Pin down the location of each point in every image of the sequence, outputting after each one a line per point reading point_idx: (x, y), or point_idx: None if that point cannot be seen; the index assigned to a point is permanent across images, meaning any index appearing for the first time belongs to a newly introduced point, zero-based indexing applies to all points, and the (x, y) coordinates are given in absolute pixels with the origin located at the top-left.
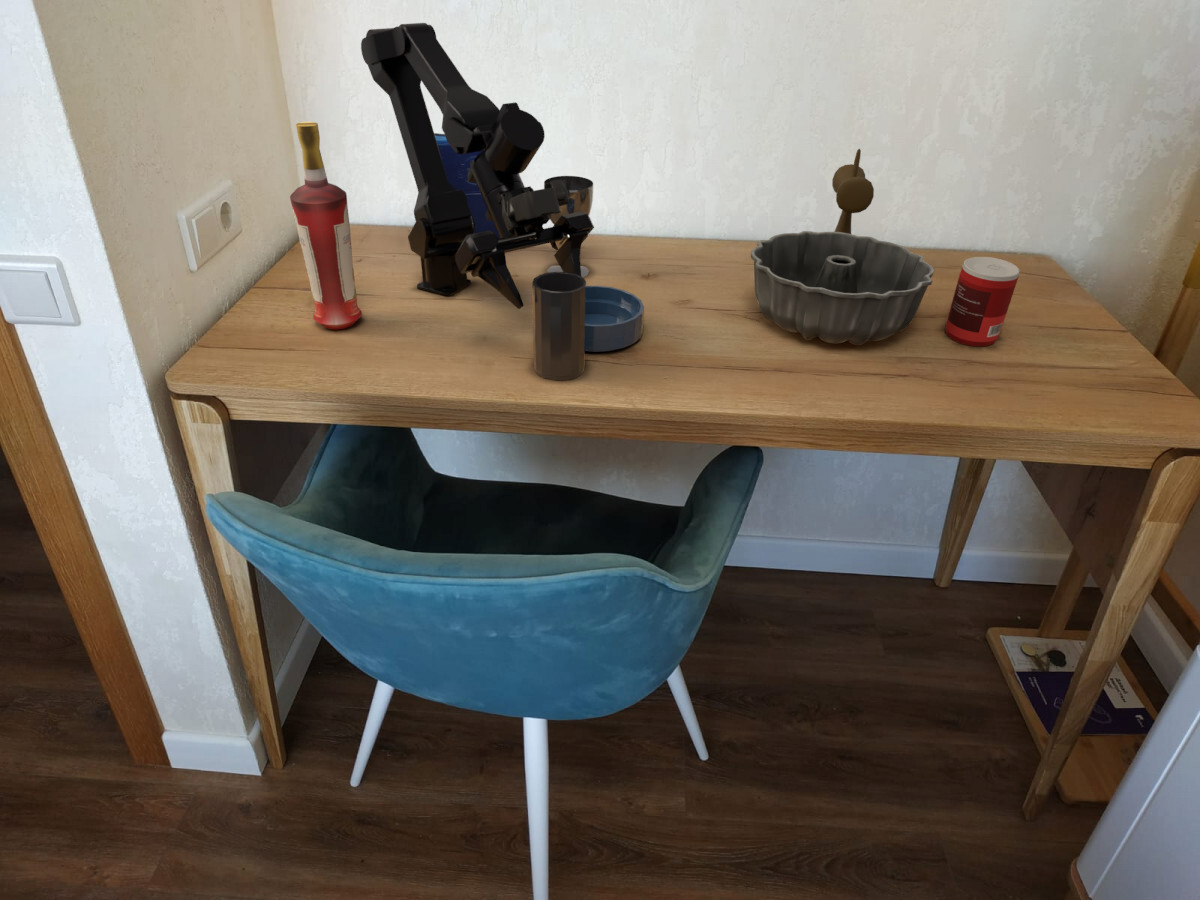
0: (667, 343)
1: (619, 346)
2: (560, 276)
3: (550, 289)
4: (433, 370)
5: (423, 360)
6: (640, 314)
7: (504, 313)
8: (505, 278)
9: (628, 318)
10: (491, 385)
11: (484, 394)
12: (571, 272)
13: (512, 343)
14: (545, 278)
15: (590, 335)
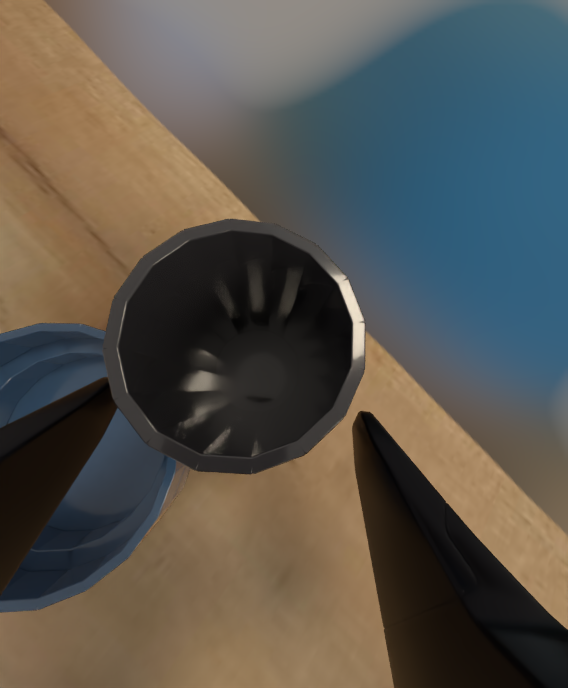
0: (35, 308)
1: None
2: (158, 416)
3: (213, 434)
4: None
5: None
6: (9, 331)
7: (163, 674)
8: (461, 525)
9: (1, 412)
10: (383, 402)
11: (407, 385)
12: (49, 458)
13: (255, 515)
14: (228, 451)
15: None
